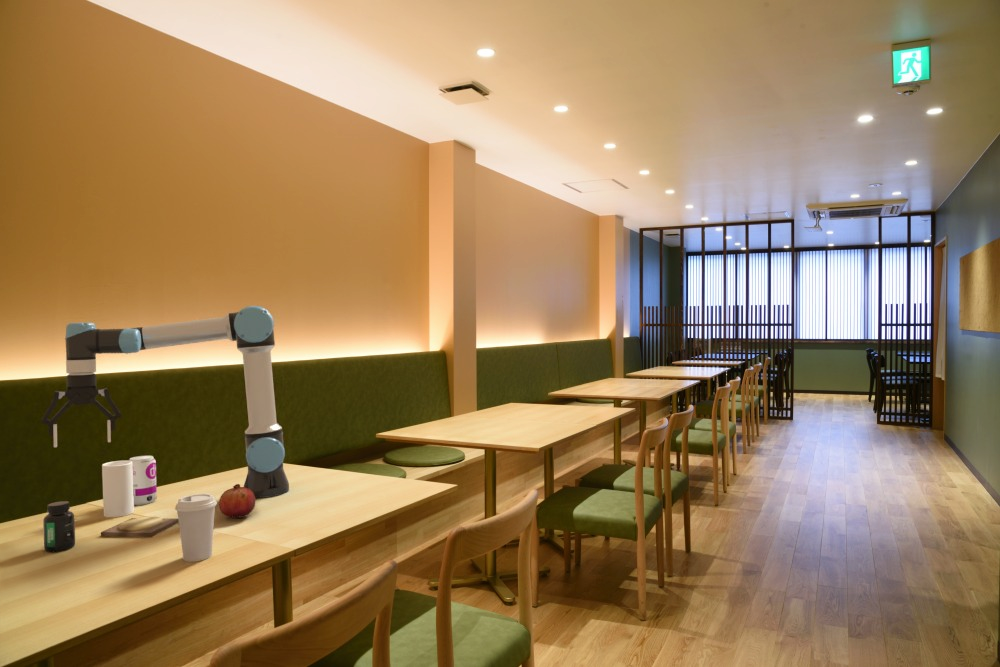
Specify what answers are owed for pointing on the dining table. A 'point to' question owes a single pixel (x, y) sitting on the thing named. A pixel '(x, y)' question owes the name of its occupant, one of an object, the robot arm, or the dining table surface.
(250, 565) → the dining table surface
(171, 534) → the dining table surface
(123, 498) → the cup
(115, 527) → the walnut board
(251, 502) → the fruit
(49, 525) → the supplement bottle
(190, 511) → the coffee cup
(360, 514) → the dining table surface
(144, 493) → the supplement can
